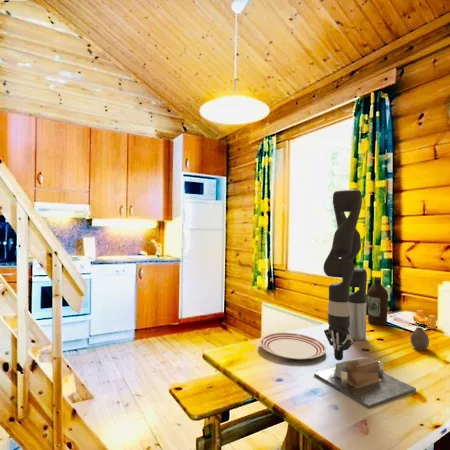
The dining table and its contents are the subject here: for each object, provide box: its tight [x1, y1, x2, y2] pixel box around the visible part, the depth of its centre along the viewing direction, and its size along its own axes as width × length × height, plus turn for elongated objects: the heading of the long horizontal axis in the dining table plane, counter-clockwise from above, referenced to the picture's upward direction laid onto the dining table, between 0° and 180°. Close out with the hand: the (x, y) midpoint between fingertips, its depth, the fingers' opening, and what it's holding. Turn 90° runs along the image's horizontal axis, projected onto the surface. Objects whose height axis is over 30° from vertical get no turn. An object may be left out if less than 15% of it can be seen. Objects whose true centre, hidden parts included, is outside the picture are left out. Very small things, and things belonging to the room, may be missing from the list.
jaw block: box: [347, 356, 379, 386], centre depth 103 cm, size 4×10×6 cm, turn 115°
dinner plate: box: [259, 332, 327, 361], centre depth 131 cm, size 28×27×3 cm
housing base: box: [313, 360, 417, 410], centre depth 103 cm, size 22×22×6 cm
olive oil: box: [366, 276, 389, 326], centre depth 172 cm, size 11×11×25 cm
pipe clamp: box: [412, 309, 437, 330], centre depth 168 cm, size 12×4×6 cm, turn 1°
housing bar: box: [335, 356, 364, 378], centre depth 107 cm, size 3×13×4 cm, turn 116°
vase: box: [410, 326, 430, 351], centre depth 135 cm, size 7×7×9 cm
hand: (338, 359), depth 114 cm, fingers closed
